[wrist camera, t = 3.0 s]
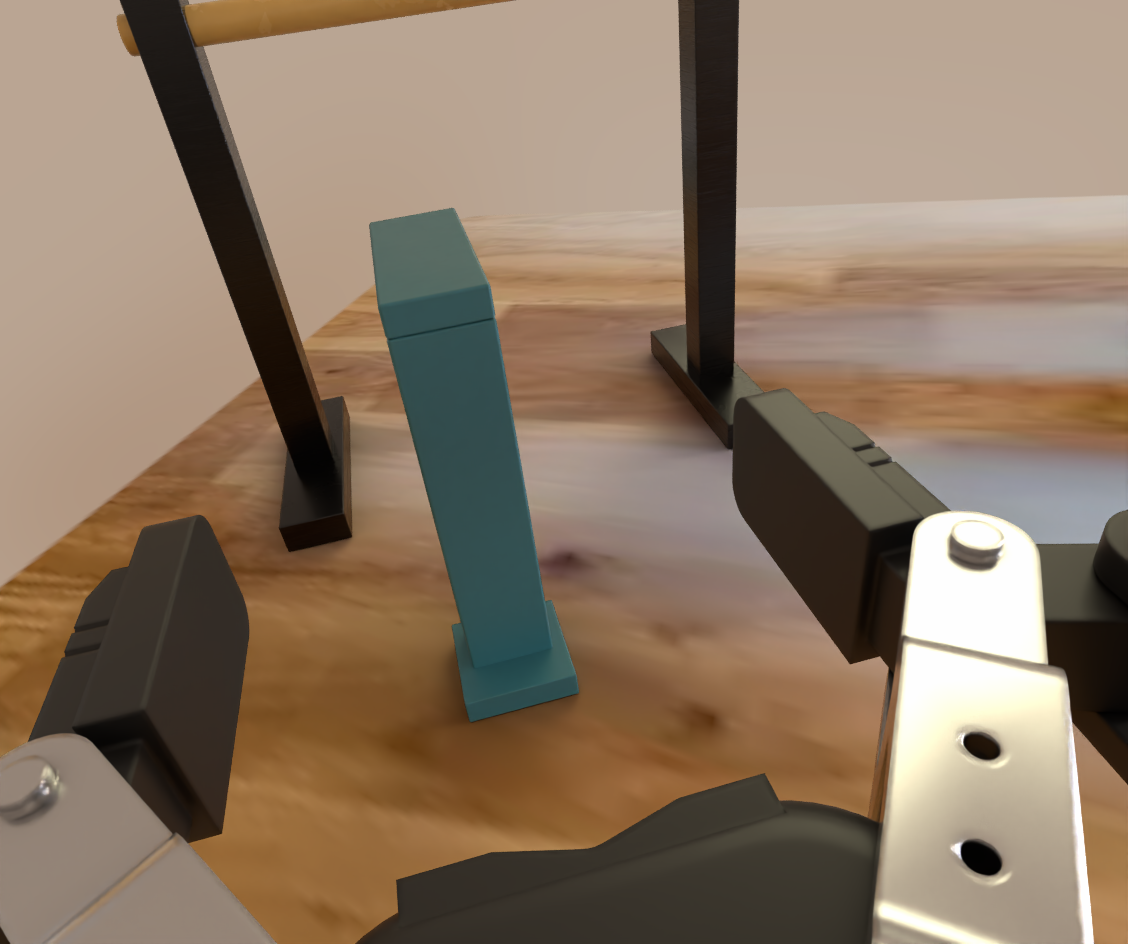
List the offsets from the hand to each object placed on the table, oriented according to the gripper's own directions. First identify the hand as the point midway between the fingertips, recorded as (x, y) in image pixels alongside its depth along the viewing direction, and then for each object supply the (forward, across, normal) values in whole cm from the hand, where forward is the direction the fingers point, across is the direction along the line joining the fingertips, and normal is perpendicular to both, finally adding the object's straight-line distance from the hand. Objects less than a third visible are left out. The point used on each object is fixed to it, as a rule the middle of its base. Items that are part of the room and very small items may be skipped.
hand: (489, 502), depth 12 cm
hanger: (+14, 0, +15) cm, 21 cm away
